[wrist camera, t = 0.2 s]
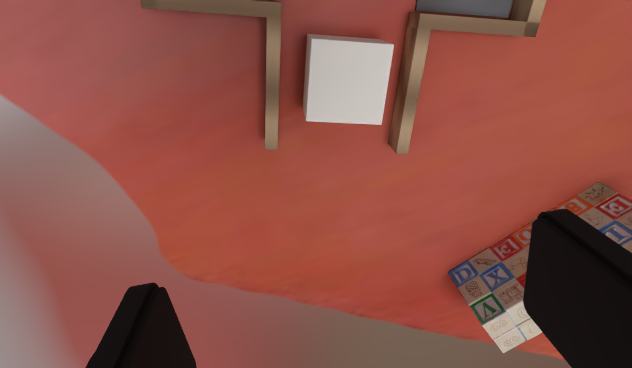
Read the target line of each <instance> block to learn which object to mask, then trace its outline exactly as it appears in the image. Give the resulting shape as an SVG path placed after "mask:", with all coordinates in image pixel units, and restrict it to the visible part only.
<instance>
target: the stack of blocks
mask: <svg viewBox="0 0 632 368" xmlns="http://www.w3.org/2000/svg"><path fill="white" fill-rule="evenodd" d="M558 209H568V210H570V211H571V212H573V213H574V214H576V215H577V216H579V217H580V218H582V219H583V220H585V221H586V222H587V223H589V224H590V225H592V226H593V227H595V228H596V229H598V230H599V231H601V232H602V233H603V234H605V235H606V236H608V237H609V238H611V239H612V240H614V241H615V242H617V243H618V244H619V245H621V246H622V247H624V248H625V249H627V250H628V251H630V252H631V253H632V200H630V199H628V198H626V197H624V196H623V195H621V194H618V193H617V192H616V191H614V190H612V189H610V188H609V187H607V186H605V185H603V184H601V183H599V182H598V183H596V184H595V185H593V186H591V187H590V188H588V189H586V190H585V191H583V192H581V193H579V194H578V195H576V196H573V197H572V198H570V199H568V200H567V201H565V202H563V203H562V204H560V205H558V206H557V207H555V208H554V209H551V210H550V211H553V210H558ZM536 219H537V218H536ZM536 219H534V220H536ZM534 220H533V221H534ZM533 221H532V222H531V223H530V224H527V225H526V226H524V227H523V228H521V229H519V230H518V231H516V232H514V233H513V234H511V235H510V236H508V237H507V238H505V239H503V240H501V241H500V242H498V243H497V244H495V245H493V246H492V247H490V248H487V249H486V250H484V251H482V252H481V253H479V254H477V255H476V256H474V257H472V258H471V259H469V260H468V261H466V262H464V263H462V264H461V265H459V266H457V267H456V268H454V269H453V270H451V271H449V274H450V276H451V278H452V279H453V281H454V283H455V284H456V286H457V287H458V289H459V291H460V293H461V294H462V296H463V297H464V299H465V300H466V302H467V303H468V305H469V306H470V308H471V309H472V311H473V312H474V314H475V315H476V317H477V318H478V320H479V321H480V323H481V324H482V326H483V327H484V328H485V330H486V331H487V332H488V334H489V335H490V337H491V338H492V339H493V340H494V341H495V343H496V344H497V345H498V347H499V348H500V349H501V351H502V352H503V353H505V352H506V351H508V350H510V349H512V348H514V347H515V346H517V345H519V344H521V343H523V342H524V341H525V340H529V339H531V338H533V337H535V336H537V335H538V334H540V333H542V331H541V330H540V328H539V327H538V326H537V325H536V324H535V322H534V321H533V320H532V319H531V318H530V316H529V315H528V314H527V312H526V310H525V308H524V304H523V295H524V287H525V278H526V270H527V262H528V254H529V245H530V237H531V229H532V223H533Z"/></svg>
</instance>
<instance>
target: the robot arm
mask: <svg viewBox="0 0 632 368" xmlns="http://www.w3.org/2000/svg"><path fill="white" fill-rule="evenodd" d="M523 304H524V308H525V310H526V312H527V314H528V315H529V316H530V318H531V319H532V320H533V321H534V322H535V324H536V325H537V326H538V327H539V328H540V330H541V331H542V332H543V333H544V334H545V336H546V337H547V338H548V339H549V341H550V342H551V343H552V344H553V345H554V347H555V348H556V349H557V350H558V351H559V353H560V354H561V355H562V356H563V357H564V359H565V360H566V361H567V362H568V364H569V365H570V366H571V367H572V368H632V253H631V252H630V251H628V250H627V249H625V248H624V247H622V246H621V245H619V244H618V243H617V242H615V241H614V240H612V239H611V238H609V237H608V236H606V235H605V234H603V233H602V232H601V231H599V230H598V229H596V228H595V227H593V226H592V225H590V224H589V223H587V222H586V221H585V220H583V219H582V218H580V217H579V216H577V215H576V214H574V213H573V212H571V211H570V210H568V209H558V210H553V211H547V212H542V213H540V214H539V216H538V218H537V219H536V220H534V221H533V223H532V229H531V237H530V245H529V254H528V262H527V270H526V278H525V287H524V295H523ZM86 368H196V362H195V359H194V357H193V354H192V352H191V350H190V347H189V344H188V342H187V340H186V337H185V335H184V332H183V330H182V327H181V325H180V322H179V320H178V317H177V315H176V313H175V310H174V308H173V305H172V303H171V300H170V298H169V295H168V293H167V291H166V289H165V288H164V287H160V288H159V287H158V285H157V284H156V283H148V284H143V285H137V286H132V287H130V288H129V289H128V290H127V291H126V293H125V295H124V297H123V300H122V301H121V303H120V305H119V307H118V309H117V311H116V313H115V315H114V317H113V319H112V320H111V322H110V324H109V326H108V328H107V330H106V332H105V334H104V336H103V338H102V340H101V342H100V344H99V346H98V348H97V350H96V352H95V353H94V354H93V356H92V357H91V358H90V360H89V362H88V364H87V366H86Z"/></svg>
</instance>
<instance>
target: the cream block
mask: <svg viewBox="0 0 632 368" xmlns="http://www.w3.org/2000/svg"><path fill="white" fill-rule="evenodd" d="M393 48H394V44H391V43H388V42H386V41H383V40H381V39H371V38H357V37H344V36H331V35H318V34H307V45H306V61H305V77H304V93H303V111H304V115H305V118H306V121H314V122H335V123H356V124H378V125H382V118H383V112H384V106H385V99H386V93H387V86H388V80H389V74H390V67H391V61H392V55H393Z"/></svg>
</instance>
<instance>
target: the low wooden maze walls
mask: <svg viewBox="0 0 632 368" xmlns="http://www.w3.org/2000/svg"><path fill="white" fill-rule="evenodd" d="M512 2H513V0H417V2H416V8H415V10H416V11H428V12H441V13H453V14H466V15H479V16H491V17H504V18H508V17H509V13H510V9H511V6H512ZM545 3H546V0H514V3H513V6H512V10H511V14H510V18H509V20H500V19H488V18H475V17H462V16H449V15H436V14H424V13H411V12H409V19H408V25H407V31H406V37H405V43H404V49H403V56H402V62H401V68H400V74H399V80H398V86H397V93H396V99H395V105H394V111H393V117H392V123H391V130H390V136H389V142H388V144H389V145H390V146H391V148H392V149H393V150H394V151H395V153H396V154H408V149H409V144H410V139H411V133H412V128H413V123H414V117H415V112H416V107H417V101H418V96H419V91H420V85H421V80H422V75H423V69H424V64H425V59H426V53H427V48H428V43H429V37H430V32H431V29H433V30H447V31H460V32H474V33H488V34H501V35H515V36H528V37H536V33H537V30H538V27H539V23H540V20H541V17H542V13H543V10H544V7H545ZM141 4H142V8H146V9H160V10H174V11H187V12H201V13H215V14H228V15H242V16H256V17H267V43H266V112H265V149H268V150H277V145H278V111H279V77H280V43H281V9H282V3H281V2H271V1H258V0H141Z"/></svg>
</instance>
